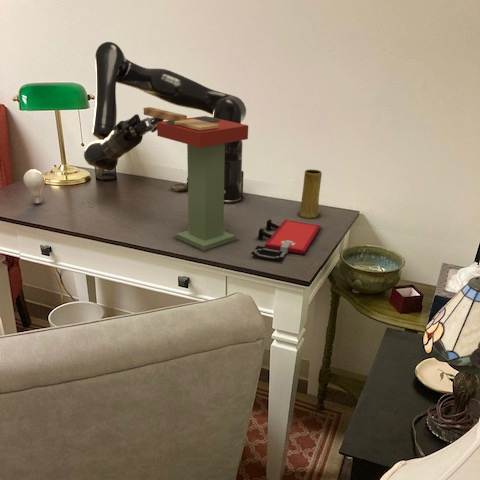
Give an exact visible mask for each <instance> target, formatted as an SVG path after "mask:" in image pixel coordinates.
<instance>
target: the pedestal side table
mask: <svg viewBox="0 0 480 480" xmlns="http://www.w3.org/2000/svg"><path fill="white" fill-rule="evenodd" d="M188 119H197V120H201V121H205V122H210V123H214V124H219V128H215V129H208V130H201V131H199V130H195V129H191V128H187V127H183V126H179V125H175V124H174V122H172V121H168V120H163V121H162V122H157V130H156V134H157V137H160V138H164V139H168V140H171V141H174V142H178V143H182V144H186V151H187V153H186V154H187V156H186V157H187V159H186V160H187V177H188V190H187V211H188V212H187V213H188V217H187V218H188V229H187V230H183V231H180V232H177V233H176V238H175V239H177V240H179V241H181V242H184V243H185V244H188V245H191V246H192V247H194V248H197V249H199V250H201V251H208V250H211V249H213V248H217V247H219V246H222V245H225V244H228V243H231V242H234V241H236V234H233V233H230V232H228V231H225V230H224V214H225V213H224V212H225V211H224V207H225V203H224V165H225V143H229V142H234V141H240V140H242V141H245V140H248V139H249V125H248V124H244V123H241V124H240V123H235V122H230V121H226V120H221V119H218V118H214V117H213V116H207V115H201V116H195V117H187V120H188Z"/></svg>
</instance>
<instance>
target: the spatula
mask: <svg viewBox="0 0 480 480" xmlns="http://www.w3.org/2000/svg"><path fill="white" fill-rule="evenodd" d="M142 110H143V115H144V116H148V117H151V118H152V117H156V118H160V119H164V120H163V121H172V122H174V124H175V125H179V126H183V127H187V128H191V129H195V130H199V131H201V130H208V129H215V128H219V124H214V123H210V122H205V121H201V120H197V119H188V120H187V118H188V115H186V114H182V113H178V112H174V111H168V110H164V109H160V108H155V107H151V106H148V107H143V108H142Z"/></svg>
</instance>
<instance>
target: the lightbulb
mask: <svg viewBox="0 0 480 480" xmlns="http://www.w3.org/2000/svg"><path fill="white" fill-rule="evenodd" d="M22 179H23V183H24V186H25V187H26V188H27V189H28V190H29V191H30V194H31V196H32V202H33V203H34V204H36V205H40V204H41V203H42V202H43V200H42V190H43V188H44V185H45V180H46V179H45V176H44V174H43V173H42V172H41V171H39V170H37V169H29V170H27V171H26V172H25V173H24V175H23V177H22Z"/></svg>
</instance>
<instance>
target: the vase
mask: <svg viewBox="0 0 480 480" xmlns="http://www.w3.org/2000/svg"><path fill="white" fill-rule="evenodd" d="M322 173H323V172H322V171H321V170H319V169H306V170H304V177H303V185H302V194H301V195H302V196H301V201H300V209H299V214H298V215H299V216H300V217H302V218H306V219H315V218H318V216H319V205H320V204H319V203H320V191H321V183H322Z"/></svg>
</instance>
